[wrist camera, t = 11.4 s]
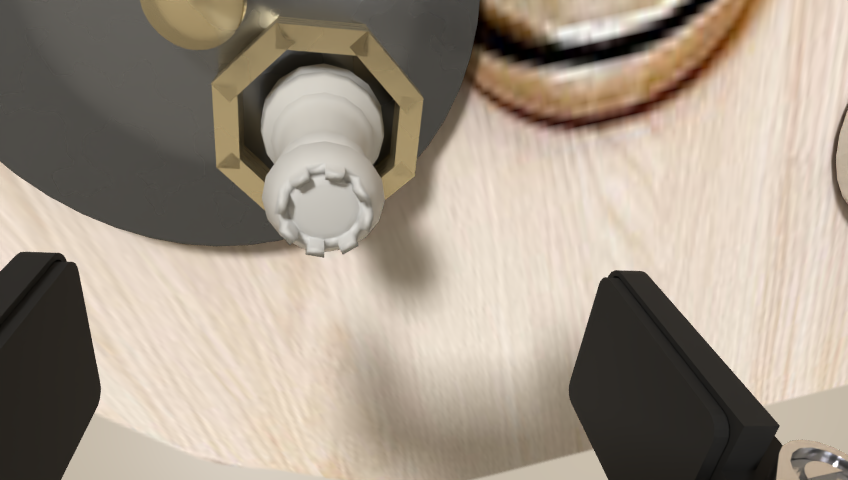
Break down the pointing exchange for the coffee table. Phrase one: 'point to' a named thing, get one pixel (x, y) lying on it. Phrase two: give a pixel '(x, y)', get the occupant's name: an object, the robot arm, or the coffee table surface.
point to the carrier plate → (206, 99)
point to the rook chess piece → (322, 158)
